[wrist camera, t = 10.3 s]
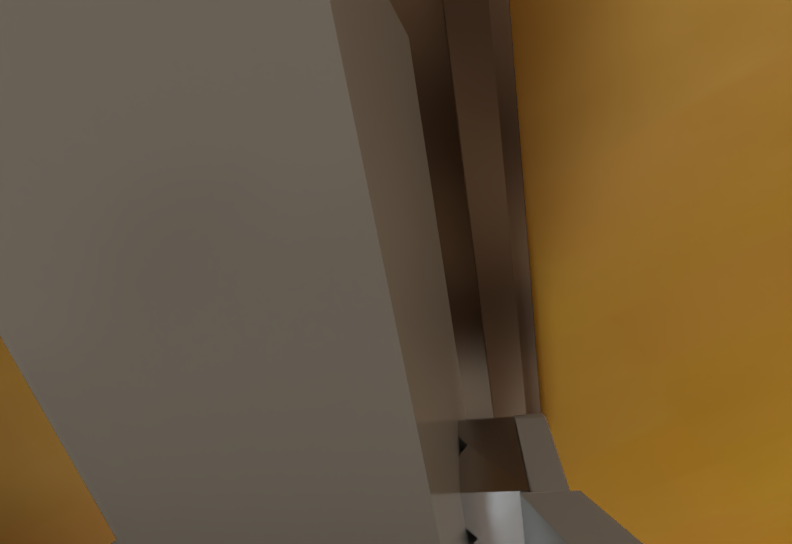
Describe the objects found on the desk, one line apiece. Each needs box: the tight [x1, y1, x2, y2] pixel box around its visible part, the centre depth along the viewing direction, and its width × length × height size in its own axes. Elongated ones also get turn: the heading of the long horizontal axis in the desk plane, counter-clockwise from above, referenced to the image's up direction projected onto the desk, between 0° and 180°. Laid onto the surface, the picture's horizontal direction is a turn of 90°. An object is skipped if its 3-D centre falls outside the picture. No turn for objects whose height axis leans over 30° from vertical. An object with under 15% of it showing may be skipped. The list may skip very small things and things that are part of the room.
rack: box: [389, 0, 541, 419], centre depth 15 cm, size 20×16×3 cm
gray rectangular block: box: [0, 0, 469, 544], centre depth 7 cm, size 14×3×6 cm, turn 11°
